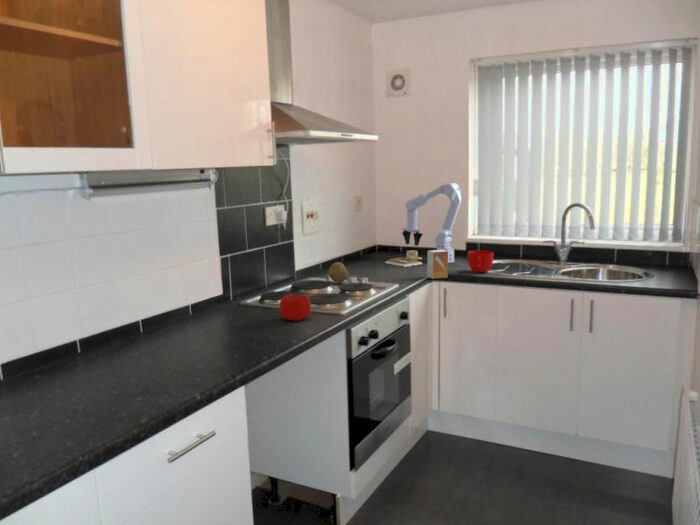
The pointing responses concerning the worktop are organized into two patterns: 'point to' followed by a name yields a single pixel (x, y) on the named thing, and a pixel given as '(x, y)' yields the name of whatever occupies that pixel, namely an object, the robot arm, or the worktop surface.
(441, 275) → the small box
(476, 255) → the ceramic cup
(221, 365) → the worktop surface
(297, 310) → the tomato
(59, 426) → the worktop surface
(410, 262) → the keyed base
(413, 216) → the robot arm
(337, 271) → the coconut
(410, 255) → the flange block
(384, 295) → the worktop surface
